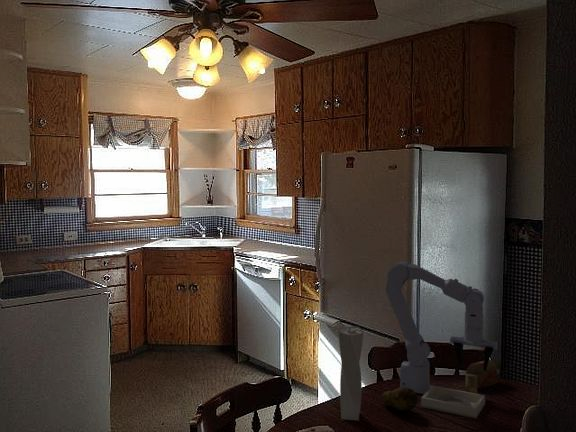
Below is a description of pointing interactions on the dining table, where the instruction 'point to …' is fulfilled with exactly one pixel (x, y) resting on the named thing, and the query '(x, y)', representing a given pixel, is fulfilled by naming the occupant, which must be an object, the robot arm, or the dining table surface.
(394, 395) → the potato
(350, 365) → the tall white vase
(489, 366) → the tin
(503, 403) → the dining table surface
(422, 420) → the dining table surface
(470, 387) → the peg
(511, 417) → the dining table surface
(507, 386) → the dining table surface
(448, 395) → the box
